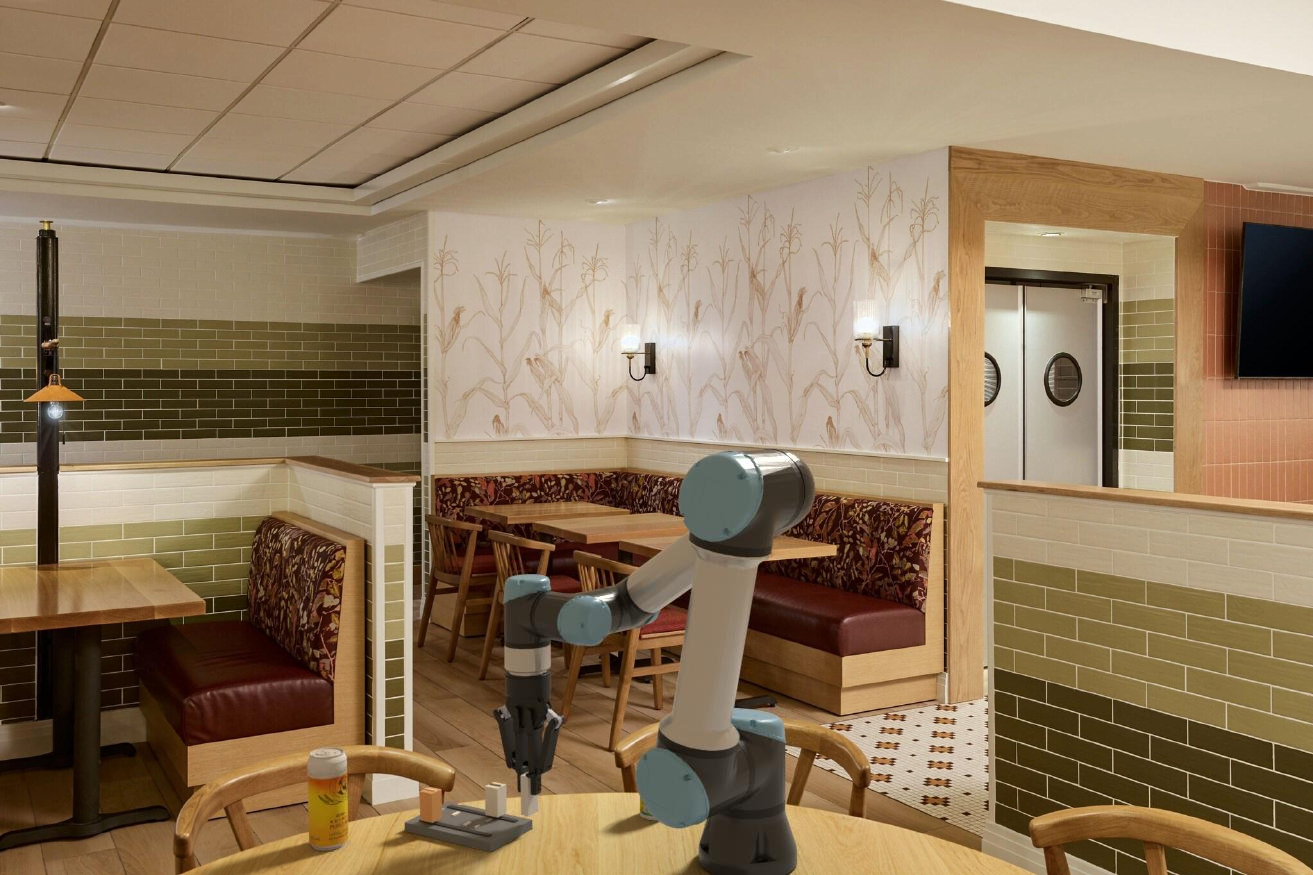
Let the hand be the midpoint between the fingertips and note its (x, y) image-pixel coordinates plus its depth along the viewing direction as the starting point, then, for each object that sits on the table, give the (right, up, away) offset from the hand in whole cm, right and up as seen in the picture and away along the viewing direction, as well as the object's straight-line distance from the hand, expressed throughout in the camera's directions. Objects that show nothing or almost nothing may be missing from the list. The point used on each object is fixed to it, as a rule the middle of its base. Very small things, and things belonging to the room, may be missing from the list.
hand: (529, 812), depth 185 cm
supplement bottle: (+21, -3, +8) cm, 22 cm away
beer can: (-32, -4, -3) cm, 32 cm away
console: (-10, -4, +2) cm, 11 cm away
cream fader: (-6, -1, +3) cm, 7 cm away
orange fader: (-16, -2, +1) cm, 17 cm away
